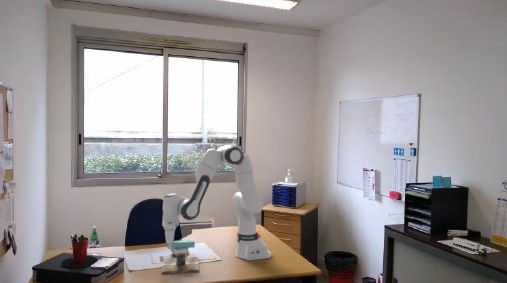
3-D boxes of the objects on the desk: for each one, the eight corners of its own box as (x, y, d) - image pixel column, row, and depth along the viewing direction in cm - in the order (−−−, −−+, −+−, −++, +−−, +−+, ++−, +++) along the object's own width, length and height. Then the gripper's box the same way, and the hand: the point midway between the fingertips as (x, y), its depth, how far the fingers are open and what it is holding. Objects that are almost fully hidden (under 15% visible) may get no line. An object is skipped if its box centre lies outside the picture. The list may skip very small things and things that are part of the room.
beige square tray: (198, 258, 222) (198, 247, 221) (199, 272, 202) (199, 259, 202) (163, 260, 218) (164, 248, 218) (161, 273, 198) (161, 261, 198)
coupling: (167, 251, 212) (168, 240, 212) (194, 250, 215) (194, 239, 215) (167, 256, 204) (167, 244, 204) (194, 255, 207) (194, 243, 207)
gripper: (165, 217, 217) (165, 240, 218) (163, 227, 197) (163, 252, 198) (176, 217, 219) (176, 240, 219) (175, 226, 198) (175, 252, 199)
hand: (170, 246), depth 208 cm, fingers open, 6 cm apart
